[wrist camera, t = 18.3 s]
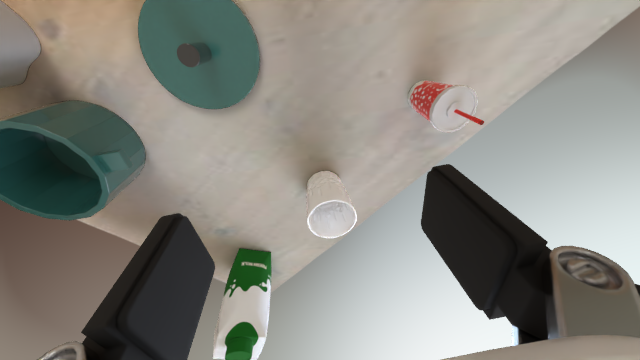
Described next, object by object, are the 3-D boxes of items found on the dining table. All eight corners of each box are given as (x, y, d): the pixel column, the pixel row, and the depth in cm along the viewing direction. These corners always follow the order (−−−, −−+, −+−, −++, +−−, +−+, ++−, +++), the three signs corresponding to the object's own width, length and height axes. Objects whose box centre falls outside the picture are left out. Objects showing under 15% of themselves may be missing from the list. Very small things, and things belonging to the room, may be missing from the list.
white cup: (303, 202, 47) (307, 239, 38) (303, 168, 43) (307, 201, 34) (342, 200, 48) (354, 236, 39) (345, 166, 43) (359, 198, 35)
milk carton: (275, 249, 53) (270, 350, 36) (267, 275, 57) (258, 376, 40) (235, 244, 50) (209, 349, 34) (229, 271, 55) (204, 376, 38)
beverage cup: (447, 80, 37) (521, 102, 25) (428, 117, 40) (486, 152, 28) (414, 70, 36) (476, 87, 24) (397, 109, 39) (445, 142, 27)
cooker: (-6, 112, 32) (-103, 138, 24) (132, 89, 33) (82, 107, 25) (65, 191, 40) (9, 231, 32) (177, 171, 40) (150, 206, 32)
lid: (117, -8, 27) (77, -18, 22) (241, -28, 28) (230, -42, 22) (176, 114, 35) (156, 128, 30) (271, 98, 36) (269, 109, 30)
